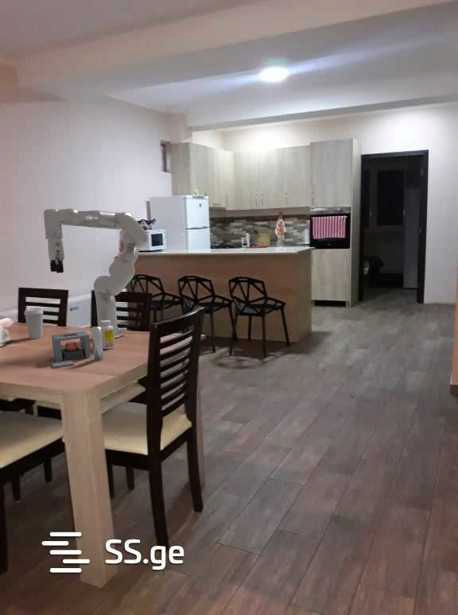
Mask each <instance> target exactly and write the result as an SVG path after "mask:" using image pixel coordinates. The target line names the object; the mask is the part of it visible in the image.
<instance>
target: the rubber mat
mask: <svg viewBox="0 0 458 615" xmlns="http://www.w3.org/2000/svg"><path fill="white" fill-rule="evenodd" d="M50 364H51V367H52V368H53V369H59V368H64V367H70V365H71V366H74V365H75V362H74V361H72V360H67V361H65V360H62V361H61V362H57V361H55V362H51V363H50Z"/></svg>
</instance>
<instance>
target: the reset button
mask: <svg viewBox="0 0 458 615" xmlns="http://www.w3.org/2000/svg"><path fill="white" fill-rule="evenodd" d="M64 346H65V349H66V351H75V350H77V347H78V343H77V341H69V342H65V345H64Z"/></svg>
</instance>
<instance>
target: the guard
mask: <svg viewBox="0 0 458 615" xmlns="http://www.w3.org/2000/svg"><path fill="white" fill-rule="evenodd" d="M78 339H80V340H79V341H80V347H79V346H77V350H75V351H66V348H62V342H64V341H70V340H78ZM90 342H91V340H90V334H88V333H87V332H86V331H84V330H83V331H77V332H70V333H62V334H61V333H60V334H53V335H51V343H52V353H53V359H54V361H55V362H61V361H66V360H71V361H72V360H73V359H74V360H78V359H83V358H86V359H88V358H91V357H92V354H91V343H90ZM74 360H73V361H74Z"/></svg>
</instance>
